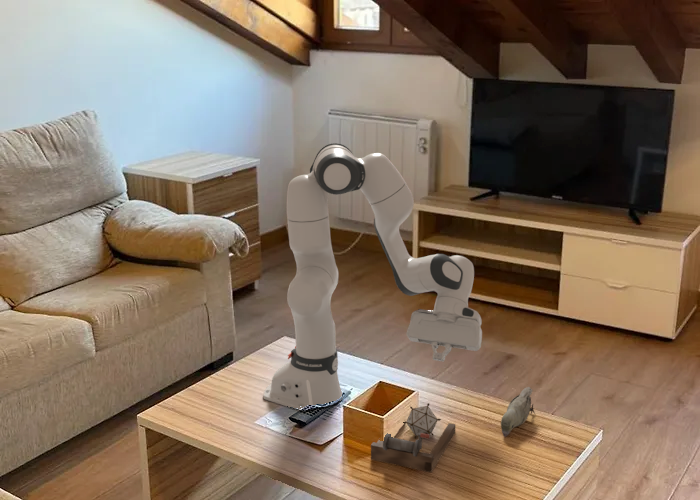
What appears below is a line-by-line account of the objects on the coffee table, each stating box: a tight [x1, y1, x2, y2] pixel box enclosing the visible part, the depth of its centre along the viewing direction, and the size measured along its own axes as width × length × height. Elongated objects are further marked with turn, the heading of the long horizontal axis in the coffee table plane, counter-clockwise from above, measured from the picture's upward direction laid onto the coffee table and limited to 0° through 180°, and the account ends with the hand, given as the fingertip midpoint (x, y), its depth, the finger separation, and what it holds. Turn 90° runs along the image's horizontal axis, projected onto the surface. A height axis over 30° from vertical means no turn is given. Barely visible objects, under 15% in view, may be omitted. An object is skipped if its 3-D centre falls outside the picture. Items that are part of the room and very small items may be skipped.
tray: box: [370, 423, 456, 473], centre depth 209 cm, size 16×21×10 cm
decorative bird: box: [500, 386, 536, 438], centre depth 220 cm, size 5×16×8 cm, turn 147°
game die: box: [403, 402, 442, 440], centre depth 215 cm, size 9×8×10 cm
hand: (438, 360), depth 224 cm, fingers closed
